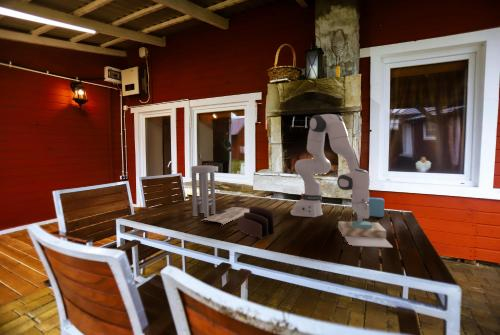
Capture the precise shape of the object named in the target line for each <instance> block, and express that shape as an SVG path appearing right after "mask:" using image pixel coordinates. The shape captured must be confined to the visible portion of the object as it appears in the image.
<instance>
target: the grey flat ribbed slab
mask: <svg viewBox="0 0 500 335" xmlns="http://www.w3.org/2000/svg"><path fill="white" fill-rule="evenodd" d="M245 212H248V213H249V208H246V207H239V206H238V207H236V206H231V207H229V208H227V209H224V210H222V211H220V212H217V213H215V214H214V215H209V217H207V218H203V219H201V220H200V222H201V221H203V220H208V221H210V222H217V223H219V224H220V223H221V225H222V224H223V225H224V224H226V223H228V222H230V221H232V220H233V221H235V220H238V219H239V218H242V217H244V213H245ZM233 221H232V222H233ZM230 223H231V222H230ZM228 224H229V223H228ZM223 225H222V226H223ZM226 225H227V224H226ZM224 226H225V225H224Z"/></svg>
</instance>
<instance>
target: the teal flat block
mask: <svg viewBox="0 0 500 335" xmlns="http://www.w3.org/2000/svg"><path fill="white" fill-rule="evenodd" d="M351 222H352V226H353V227H354V228H369V229H372V224H371V223H370V221H363V220H362V221H358V220H356V221H355V220H353V221H351Z"/></svg>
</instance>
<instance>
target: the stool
mask: <svg viewBox="0 0 500 335" xmlns="http://www.w3.org/2000/svg"><path fill="white" fill-rule="evenodd" d="M190 171H191V195H192V196H191V198H192V217H193V216H198V205H199V214H200V213H204V214H203V215H204V217H210V215H211V214H216V191H215V190H216V188H215V187H216V184H215V165H210V164H209V165H208V164H206V165H205V164H204V165H203V164H202V165H193V166H191V168H190ZM197 174H198V184H197ZM209 184H210V185H209ZM197 185H198V187H197ZM209 186H210V187H209ZM197 188H198V189H197ZM209 189H210V197H209ZM198 191H199V192H198ZM198 194H199V197H198ZM198 217H199V216H198Z"/></svg>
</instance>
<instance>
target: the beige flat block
mask: <svg viewBox="0 0 500 335" xmlns="http://www.w3.org/2000/svg"><path fill="white" fill-rule="evenodd" d="M369 222H370V221H369ZM337 223H338V225H337V227H338V228H337V229H338V231H339V233H340V232H341V233H340V235H341V234H342V235H341V237H345V236H349V237H372V238H385V239H387V230H386V229H385V228H384V227H383V226H382V225H381V224H380V223H379V222H370V223H371V224H372V229H369V228H354V227H353V226H352V221H343V220H342V221H338V222H337Z"/></svg>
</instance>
